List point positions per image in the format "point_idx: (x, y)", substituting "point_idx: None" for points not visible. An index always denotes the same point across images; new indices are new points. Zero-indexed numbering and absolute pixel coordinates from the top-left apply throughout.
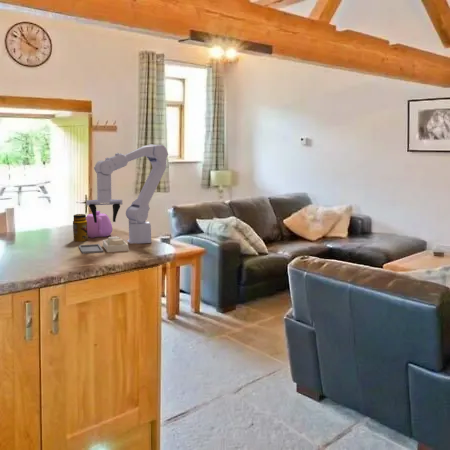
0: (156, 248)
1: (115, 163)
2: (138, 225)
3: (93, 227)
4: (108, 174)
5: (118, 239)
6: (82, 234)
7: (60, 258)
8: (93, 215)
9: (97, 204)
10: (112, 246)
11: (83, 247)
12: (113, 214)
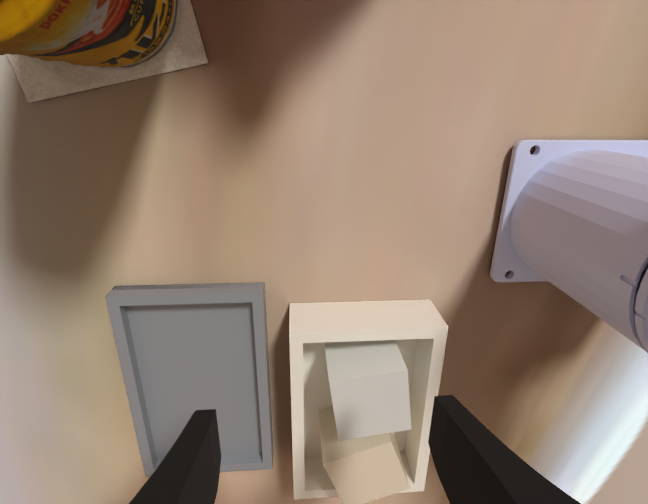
0: (579, 415)
1: None
2: None
3: None
4: None
5: (384, 468)
6: (94, 58)
7: (34, 499)
8: (155, 491)
9: None
10: (326, 492)
11: (148, 316)
12: (479, 496)
